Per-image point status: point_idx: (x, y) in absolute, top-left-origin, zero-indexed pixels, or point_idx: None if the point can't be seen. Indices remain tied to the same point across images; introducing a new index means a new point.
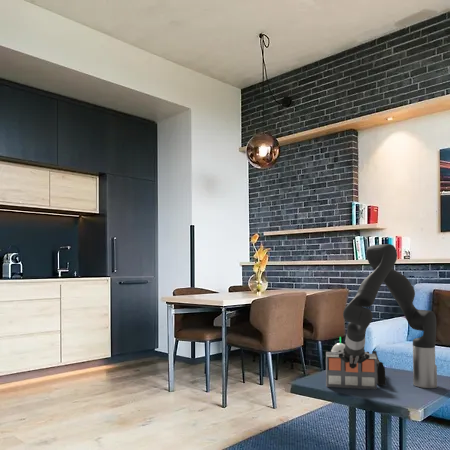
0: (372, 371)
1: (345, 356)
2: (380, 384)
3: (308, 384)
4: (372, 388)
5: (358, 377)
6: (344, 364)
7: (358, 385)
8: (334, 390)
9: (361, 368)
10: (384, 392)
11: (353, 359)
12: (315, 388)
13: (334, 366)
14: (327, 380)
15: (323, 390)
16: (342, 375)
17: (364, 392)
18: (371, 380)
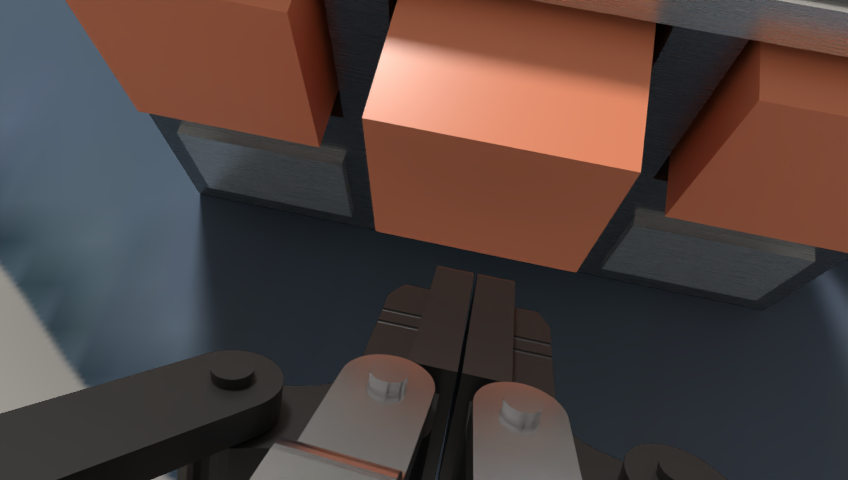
0: (840, 244)
1: (147, 448)
2: None
3: (38, 97)
4: (719, 295)
5: None
6: None
7: None
8: (233, 345)
9: None
10: (840, 438)
11: (473, 380)
12: (38, 256)
13: (204, 91)
14: (187, 158)
15: (94, 345)
16: (365, 159)
17: (584, 439)
18: (751, 267)
